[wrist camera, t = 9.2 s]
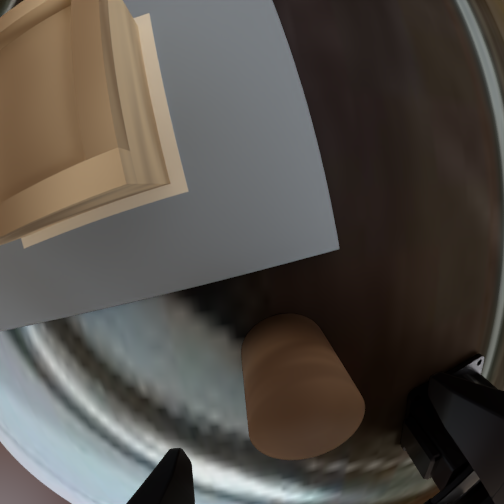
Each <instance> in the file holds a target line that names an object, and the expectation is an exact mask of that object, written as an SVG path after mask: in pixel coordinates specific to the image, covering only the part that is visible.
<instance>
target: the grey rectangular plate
mask: <svg viewBox="0 0 504 504" xmlns="http://www.w3.org/2000/svg"><path fill="white" fill-rule="evenodd" d="M123 2H124V3H125V5H126V7H127V8H128V10H129V12H130V14H131V15H132V17H133V19H134V20H135V22H136V24H137V25H138V30H139V36H140V42H141V48H142V54H143V60H144V65H145V71H146V76H147V81H148V87H149V92H150V97H151V102H152V106H153V111H154V116H155V120H156V125H157V129H158V134H159V138H160V143H161V147H162V151H163V155H164V159H165V164H166V168H167V172H168V176H169V180H170V184H168V185H165V186H161V187H158V188H155V189H152V190H148V191H145V192H142V193H139V194H136V195H133V196H130V197H127V198H124V199H121V200H118V201H115V202H112V203H110V204H107V205H104V206H101V207H98V208H96V209H93V210H90V211H88V212H85V213H82V214H80V215H77V216H75V217H72V218H69V219H67V220H64V221H62V222H59V223H57V224H54V225H52V226H50V227H47V228H45V229H42V230H40V231H38V232H35V233H33V234H31V235H29V236H26V237H23V238H20V239H17V240H14V241H11V242H8V243H6V244H3V245H0V331H4V330H9V329H14V328H19V327H23V326H28V325H33V324H37V323H42V322H47V321H51V320H56V319H60V318H65V317H69V316H74V315H78V314H83V313H87V312H91V311H96V310H100V309H105V308H109V307H113V306H117V305H122V304H126V303H130V302H134V301H139V300H143V299H147V298H151V297H155V296H159V295H164V294H168V293H172V292H176V291H180V290H184V289H188V288H192V287H196V286H200V285H204V284H208V283H212V282H216V281H220V280H224V279H228V278H232V277H236V276H240V275H243V274H247V273H251V272H255V271H259V270H263V269H267V268H270V267H274V266H278V265H282V264H286V263H289V262H293V261H297V260H301V259H304V258H308V257H312V256H315V255H319V254H323V253H326V252H330V251H334V250H337V249H339V243H338V238H337V232H336V227H335V221H334V216H333V211H332V206H331V201H330V196H329V191H328V187H327V182H326V178H325V173H324V169H323V164H322V160H321V156H320V152H319V148H318V144H317V140H316V136H315V132H314V128H313V124H312V121H311V117H310V113H309V110H308V106H307V103H306V99H305V96H304V92H303V89H302V86H301V82H300V79H299V76H298V73H297V69H296V66H295V63H294V60H293V57H292V54H291V51H290V48H289V45H288V42H287V39H286V36H285V34H284V31H283V28H282V25H281V23H280V20H279V17H278V14H277V12H276V9H275V7H274V4H273V2H272V0H123Z"/></svg>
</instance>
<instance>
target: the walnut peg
mask: <svg viewBox="0 0 504 504" xmlns="http://www.w3.org/2000/svg"><path fill="white" fill-rule="evenodd" d="M241 358H242V369H243V379H244V390H245V400H246V410H247V420H248V430H249V437H250V440H251V442H252V444H253V445H254V446H255V448H256V449H258V450H259V451H260V452H262V453H263V454H265V455H268V456H270V457H273V458H277V459H283V460H300V459H307V458H311V457H315V456H318V455H321V454H324V453H326V452H329V451H331V450H333V449H335V448H336V447H338V446H339V445H341V444H342V443H344V442H345V441H346V440H347V439H348V438H350V437H351V436H352V435H353V433H354V432H355V431H356V430H357V429H358V427H359V425H360V424H361V422H362V420H363V417H364V413H365V403H364V400H363V397H362V396H361V394H360V392H359V391H358V389H357V387H356V386H355V384H354V382H353V381H352V379H351V378H350V376H349V374H348V373H347V371H346V369H345V368H344V366H343V364H342V363H341V361H340V360H339V358H338V356H337V355H336V353H335V351H334V350H333V348H332V347H331V345H330V343H329V342H328V340H327V338H326V337H325V335H324V334H323V332H322V330H321V329H320V327H319V326H318V325H317V324H316V323H315V322H314V321H313V320H311V319H309V318H308V317H305V316H303V315H299V314H293V313H285V314H278V315H274V316H271V317H268V318H266V319H264V320H262V321H261V322H259V323H258V324H257V325H255V326H254V327H253V328H252V329H251V330H250V331H249V333H248V334H247V336H246V337H245V339H244V342H243V344H242V349H241Z"/></svg>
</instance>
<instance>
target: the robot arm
mask: <svg viewBox="0 0 504 504" xmlns="http://www.w3.org/2000/svg"><path fill="white" fill-rule="evenodd" d="M483 362H484V357H483V356H482V355H481V354H477V355H475V356H474V357H472V358H471V359H469V360H467V361H466V362H464V363H462V364H461V365H459V366H457V367H455V368H454V369H452V370H450V371H448V372H447V373H443V372H438V373H436V374H434V375H432V376H431V377H430V379H429V382H428V383H426V384H424V385H422V386H420V387H418V388H416V389H414V390H412V391H411V392H410V394H409V395H408V401H407V410H406V417H405V420H404V424H403V431H402V437H401V443H402V444H401V447H402V448H403V450H404V451H407V453H408V454H409V456H410V458H411V459H412V461H413V462H414V464H415V466H416V467H417V469H418V471H419V472H420V474H421V475H422V477H423V479H427V480H428V479H429V478H431V477H432V479H433V480H434V482H435V483H436V485H437V487H438V488H439V490H440V492H439V493H438V494H437V495H435V496H434V497H433V498H431V499H429V500H428V501H426V502H425V503H424V504H504V391H502V390H498V389H497V388H496V387H495V386H493V385H492V384H491V383H490V382H489V381H488V380H487V379H485V378H484V377H483V376H482V375H481V371H482V367H483ZM127 504H195V497H194V486H193V474H192V464H191V461H190V459H189V458H188V457H187V455H186V454H185V452H184V451H183V449H181V448H173V449H170V450H169V451H168V452H167V453H166V455H165V456H164V457H163V458H162V460H161V461H160V462H159V464H158V465H157V466H156V467H155V469H154V470H153V471H152V473H151V474H150V475H149V476H148V478H147V479H146V480H145V481H144V483H143V484H142V485H141V486H140V488H139V489H138V490H137V491H136V493H135V494H134V495H133V496H132V497H131V499H130V500H129V501H128V502H127Z"/></svg>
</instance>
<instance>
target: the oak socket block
mask: <svg viewBox="0 0 504 504" xmlns="http://www.w3.org/2000/svg"><path fill="white" fill-rule="evenodd" d="M168 184H170V180H169V176H168V172H167V168H166V164H165V159H164V155H163V151H162V147H161V143H160V138H159V134H158V129H157V125H156V120H155V116H154V111H153V106H152V102H151V97H150V92H149V87H148V81H147V76H146V71H145V65H144V60H143V54H142V48H141V42H140V36H139V30H138V25H137V24H136V22H135V20H134V19H133V17H132V15H131V14H130V12H129V10H128V8H127V7H126V5H125V3H124V2H123V0H24V1H22V2H21V3H19V4H18V5H17V6H15V7H14V8H12V9H11V10H10V11H8V12H7V13H5V14H4V15H3V16H2V17H0V245H3V244H6V243H8V242H11V241H14V240H17V239H20V238H23V237H26V236H29V235H31V234H33V233H35V232H38V231H40V230H42V229H45V228H47V227H50V226H52V225H54V224H57V223H59V222H62V221H64V220H67V219H69V218H72V217H75V216H77V215H80V214H82V213H85V212H88V211H90V210H93V209H96V208H98V207H101V206H104V205H107V204H110V203H112V202H115V201H118V200H121V199H124V198H127V197H130V196H133V195H136V194H139V193H142V192H145V191H148V190H152V189H155V188H158V187H161V186H165V185H168Z"/></svg>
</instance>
